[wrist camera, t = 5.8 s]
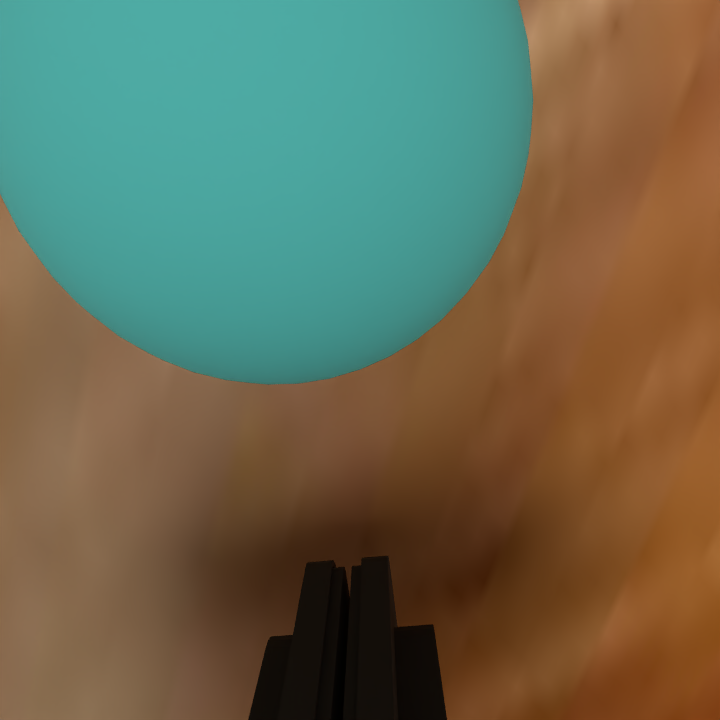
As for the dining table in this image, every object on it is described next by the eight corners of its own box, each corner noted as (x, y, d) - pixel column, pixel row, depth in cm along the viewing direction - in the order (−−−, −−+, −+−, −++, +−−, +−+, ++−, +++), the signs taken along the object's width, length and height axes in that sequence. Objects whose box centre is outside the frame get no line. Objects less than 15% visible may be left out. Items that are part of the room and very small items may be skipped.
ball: (572, -544, 4) (458, 70, 9) (-225, -400, 4) (150, 108, 10) (747, 265, 3) (500, 384, 9) (-323, 375, 3) (157, 416, 9)
